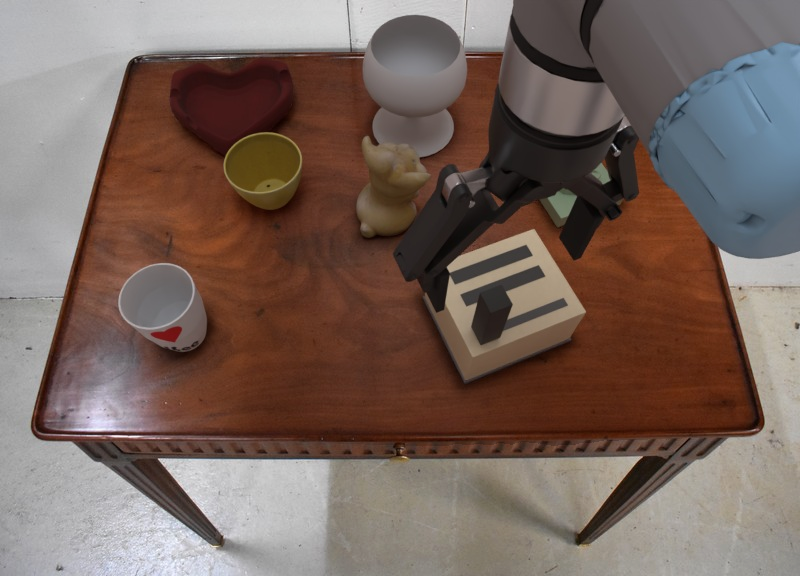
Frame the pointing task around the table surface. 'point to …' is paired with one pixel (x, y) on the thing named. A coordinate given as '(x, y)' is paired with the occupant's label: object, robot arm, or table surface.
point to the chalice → (414, 81)
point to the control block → (569, 199)
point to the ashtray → (231, 100)
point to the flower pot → (264, 169)
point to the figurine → (389, 188)
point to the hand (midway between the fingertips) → (503, 272)
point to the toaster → (530, 314)
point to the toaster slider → (491, 314)
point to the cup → (164, 307)
